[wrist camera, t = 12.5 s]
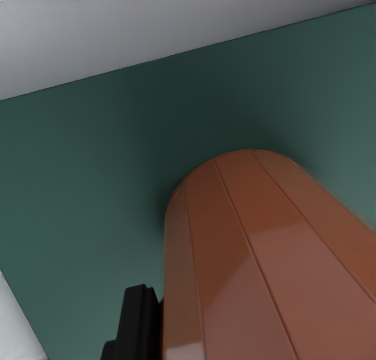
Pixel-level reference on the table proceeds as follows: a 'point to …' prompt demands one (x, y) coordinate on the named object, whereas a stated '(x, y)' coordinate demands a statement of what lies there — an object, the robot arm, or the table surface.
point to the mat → (168, 159)
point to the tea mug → (265, 265)
